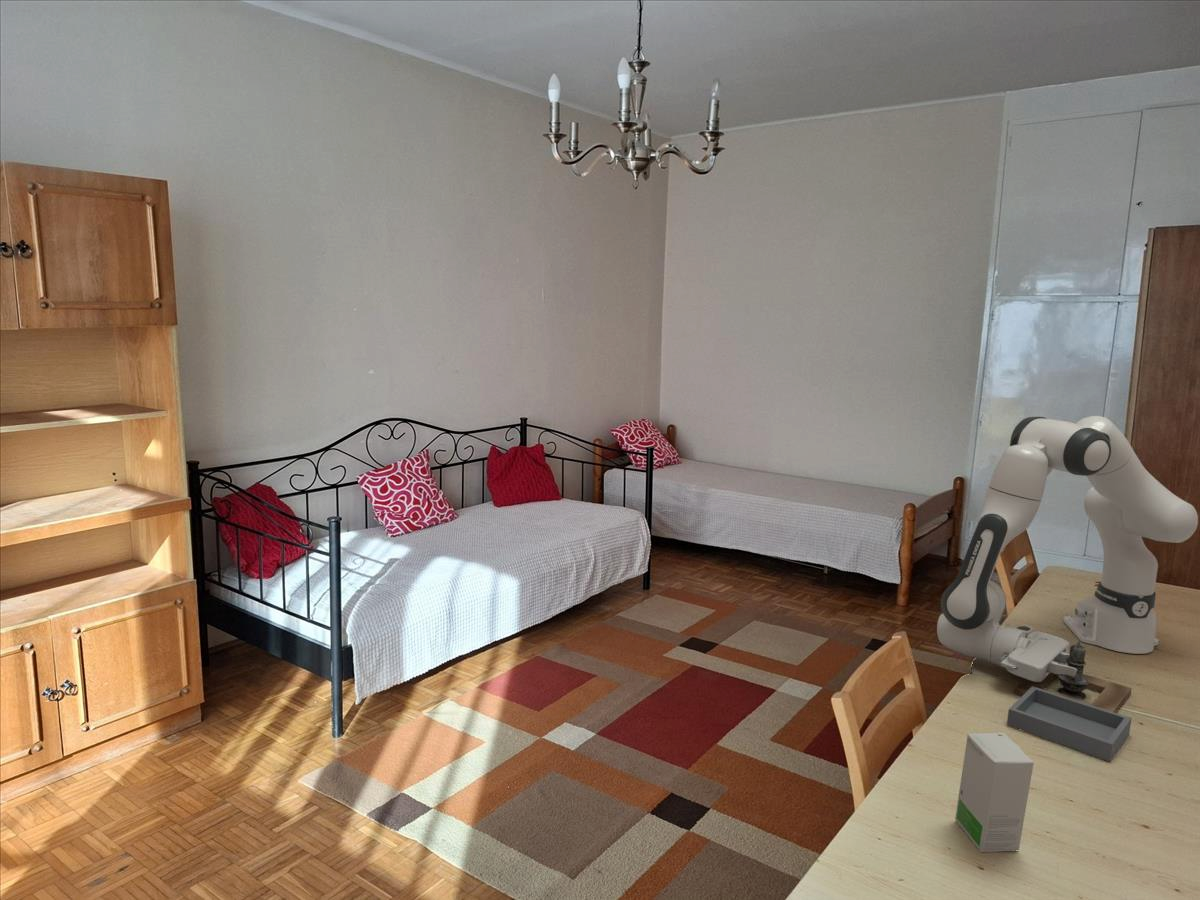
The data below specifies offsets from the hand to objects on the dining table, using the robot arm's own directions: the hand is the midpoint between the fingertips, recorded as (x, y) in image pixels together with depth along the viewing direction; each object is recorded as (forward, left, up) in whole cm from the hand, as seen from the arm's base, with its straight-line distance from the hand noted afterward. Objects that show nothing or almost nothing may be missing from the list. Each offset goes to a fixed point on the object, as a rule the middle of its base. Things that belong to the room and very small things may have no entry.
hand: (1080, 668), depth 176 cm
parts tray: (+15, -10, -6) cm, 19 cm away
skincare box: (+48, -41, -6) cm, 63 cm away
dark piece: (-1, -1, -6) cm, 6 cm away
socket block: (-1, -1, -6) cm, 6 cm away
